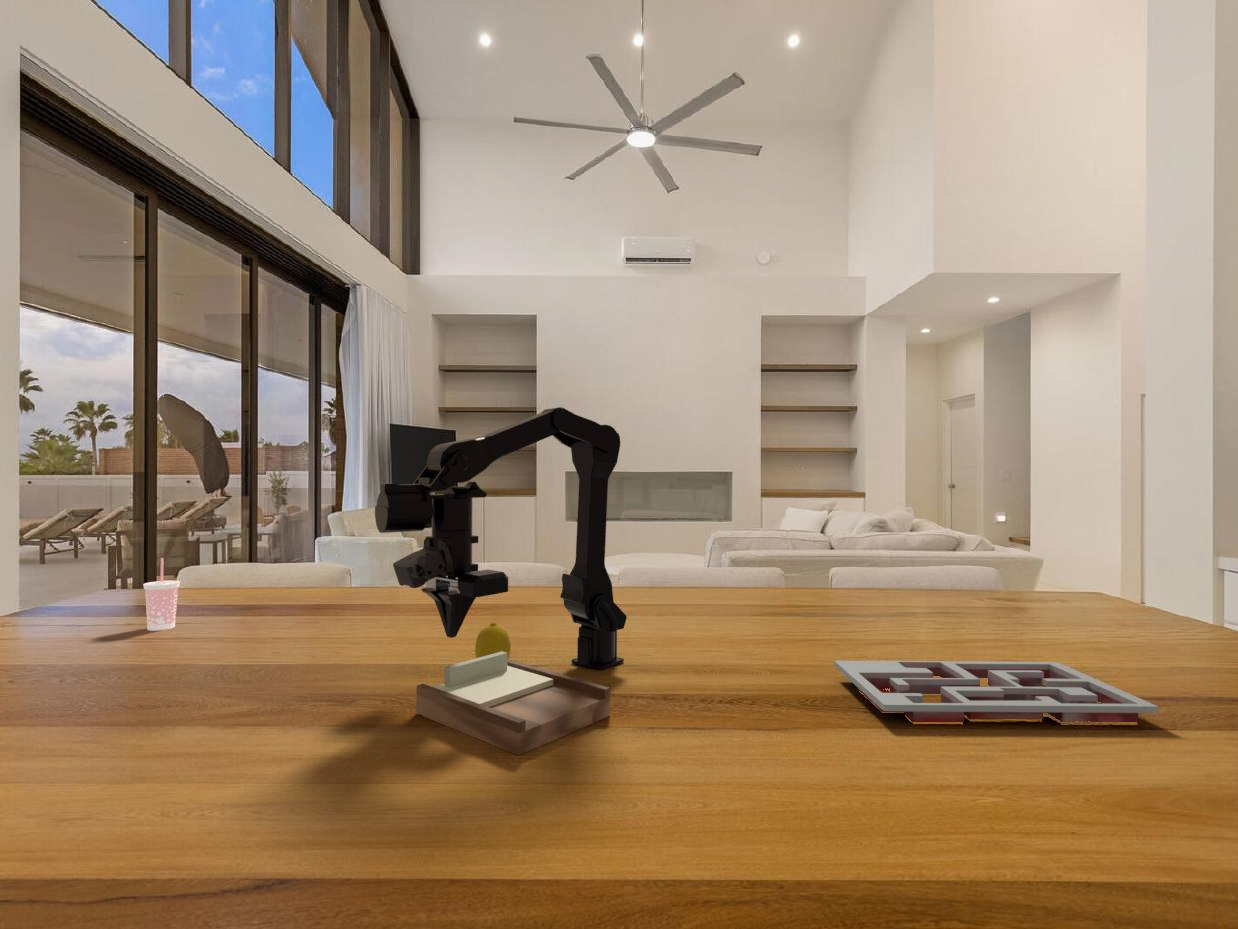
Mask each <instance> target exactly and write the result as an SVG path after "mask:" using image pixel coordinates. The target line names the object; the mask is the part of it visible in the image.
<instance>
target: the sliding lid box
mask: <svg viewBox="0 0 1238 929" xmlns="http://www.w3.org/2000/svg"><path fill="white" fill-rule="evenodd" d="M507 666H510V667H514V668H517V669H520V670H524V671H527V672H531V673H534V674H538V675H541V676H545V677H548V678H552V679H553V685H552V686H549V687H546V688H543V689H540V690H537V691H534V692H531V693H528V694H526V695H523V696H520V697H517V698H514V699H511V700H508V701H505V702H502V703H500V704H497V705H494V706H491V707H487V706H484V705H481V704H478V703H476V702H473V701H470V700H467V699H464V698H462V697H459V696H456V695H453V694H451V693H448V692H445V691H442V690H439V689H437V688H434V687H432V686H431V685H428V684H424V683H420V684H418V685H416V693H415V695H416V701H415V702H416V705H415V706H416V707H415V708H416V709H415V711H416V712H415V714H416V713H417V715H419V714H420V715H419V716H421V715H422V716H421V717H424V718H426V719H428V720H431V721H434V722H436V723H438V724H441V725H443V726H446V727H448V728H451V729H452V730H455V731H458V732H460V733H463V734H465V735H467V736H470V737H472V738H475V739H478V740H480V741H482V742H485V743H487V744H489V745H492V746H494V747H497V748H498V749H501V750H504V751H507V752H509V753H511V754H514V755H516V756H518V757H519V756H521V755H525V754H526V753H528V752H531V751H532V750H535V749H538V748H539V747H542V746H544V745H547V744H549V743H552V742H553V741H555V740H558V739H561V738H562V737H565V736H567V735H569V734H571V733H573V732H577V731H578V730H581V729H583V728H586V727H588V726H589V725H590V726H591V725H593V724H595V723H596V722H599V721H601V720H603V719H605V718H609V717H610V716H611V711H610V710H611V687H609V686H605V685H602V684H598V683H594V682H591V681H587V680H584V679H580V678H577V677H572V676H569V675H565V674H562V673H558V672H555V671H552V670H548V669H544V668H541V667H537V666H534V665H530V664H527V663H525V662H524V663H523V662H519V661H516V660H513V659H510V658H509V659H508V660H507Z"/></svg>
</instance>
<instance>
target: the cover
mask: <svg viewBox="0 0 1238 929" xmlns="http://www.w3.org/2000/svg"><path fill="white" fill-rule="evenodd" d="M443 671H444V672H443V674H444V675H443V677H444V678H443V680H444V682H443V683H439V684H436V685H432V686H431V687H434V688H437V689H439V690H442V691H445V692H448V693H451V694H453V695H456V696H459V697H462V698H464V699H467V700H470V701H473V702H476V703H478V704H481V705H484V706H487V707H491V706H494V705H497V704H500V703H502V702H505V701H508V700H511V699H514V698H517V697H520V696H523V695H526V694H528V693H531V692H534V691H537V690H540V689H543V688H546V687H549V686H552V685H553V679H552V678H548V677H545V676H541V675H538V674H534V673H531V672H527V671H524V670H520V669H517V668H514V667H510V666H507V653H506V652H498V653H494V654H490V655H487V656H483V657H479V658H476V657H475V658H473V659H468V660H465V661H462V662H458V663H454V664H451V665H447V666H444V669H443Z"/></svg>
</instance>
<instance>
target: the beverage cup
mask: <svg viewBox="0 0 1238 929" xmlns="http://www.w3.org/2000/svg"><path fill="white" fill-rule="evenodd" d="M164 561H165V560H164V557H160V580H157V581H150V582H145V583H143V585H142V586H143V590H144V593H145V594H144V596H145V607H146V608H145V610H146V611H145V612H146V624H147V627H146V628H147V631H152V632H154V631H165V630H170V629H173V628H175V627H176V616H177V606H178V605H177V604H178V593H179V587H180V586H181V585H180V584H181V581H180V580H164V566H165V565H164Z"/></svg>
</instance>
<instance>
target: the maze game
mask: <svg viewBox="0 0 1238 929" xmlns="http://www.w3.org/2000/svg"><path fill="white" fill-rule="evenodd" d="M833 666H834V667H835V668H836V669H837V670H838V671H839V672H840V673H841V674H842V675H843V676H845V677H846V678H847V679H848V680H849V681H850V682H851V683H853V684H854V685H855V686H856V688H857V691H858V690H859V691H860V692H861V693H863V694H864V695H865V696H866V697H867V698H868V699H869V700H870V701H871V702H873V703H874V704H875V705H876V706H877V707H878V708H879V709H880V710H881V711H882V712H904V714H905V715H906V716H907V717H908V718H909V719H910V720H911V721H912V722H964V723H965V718H964V715H966V716H967V717H968V718H969V719H1043V720H1044V718H1043V713H1048V714H1050V715H1051V716H1053V717H1055V718H1056V719H1058V720H1060V721H1061V722H1071V721H1072V722H1075V721H1079V722H1081V721H1083V722H1085V721H1086V722H1088V721H1090V722H1091V721H1092V722H1138V723H1139V714H1159V706H1157V705H1156V704H1153V703H1151V702H1149V701H1146V700H1145V699H1142V698H1140V697H1138V696H1135V695H1133V694H1131V693H1130V692H1129V693H1128V692H1126V691H1124V690H1122V689H1120V688H1118V687H1115V686H1113V685H1110V684H1108V683H1106V682H1105V681H1102V680H1099V679H1097V678H1095V677H1092V676H1090V675H1089V674H1088V675H1087V674H1086V673H1083V672H1081V671H1078V670H1077V669H1074V668H1071V667H1069V666H1067V665H1064V664H1062V663H1061V662H1059V661H978V660H977V661H975V660H974V661H971V660H969V661H967V660H966V661H965V660H964V661H961V660H960V661H959V660H958V661H954V660H953V661H951V660H944V661H943V660H940V661H939V660H934V661H933V660H930V661H929V660H926V661H925V660H924V661H923V660H834V661H833ZM933 676H940V677H942V678H933ZM979 678H988V685H989V686H990V687H980V679H979ZM1044 678H1050V679H1044ZM1036 686H1038V687H1036ZM1039 686H1042V687H1039ZM885 688H886V689H887V688H888V689H889V688H890V692H889V691H888V690H887V691H886V690H885ZM883 689H884V690H883ZM922 694H941V703H923V695H922ZM1097 701H1098V702H1101V703H1102V704H1097ZM904 714H903V715H904Z"/></svg>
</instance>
